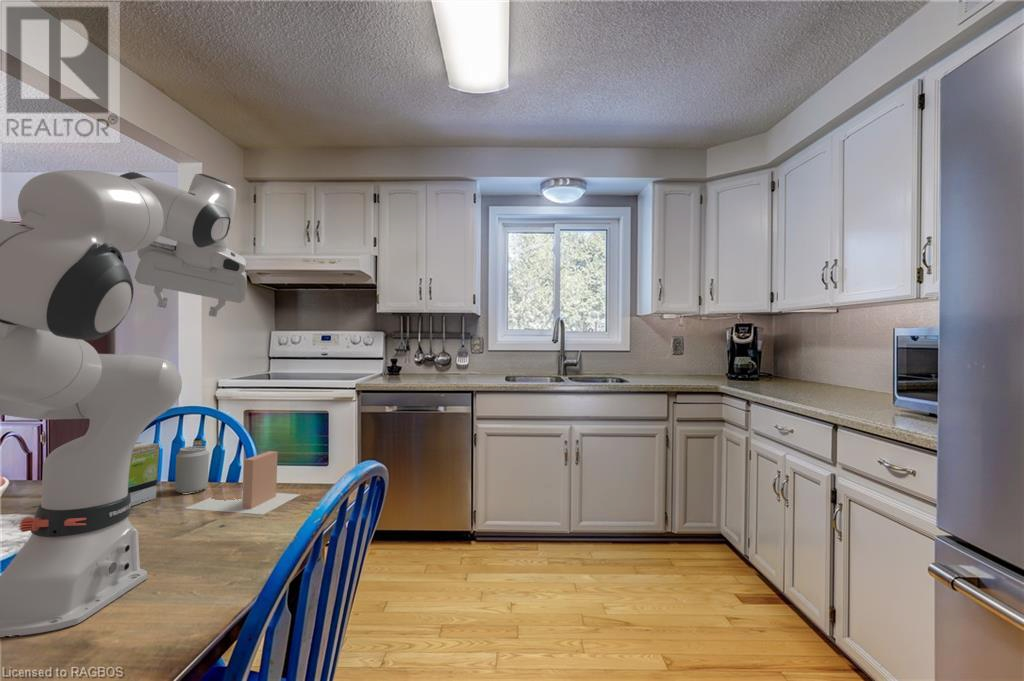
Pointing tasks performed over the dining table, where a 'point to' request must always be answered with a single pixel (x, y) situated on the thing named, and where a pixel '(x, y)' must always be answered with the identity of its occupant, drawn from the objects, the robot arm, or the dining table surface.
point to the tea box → (143, 472)
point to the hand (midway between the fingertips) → (187, 311)
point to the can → (191, 469)
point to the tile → (259, 479)
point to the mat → (237, 504)
